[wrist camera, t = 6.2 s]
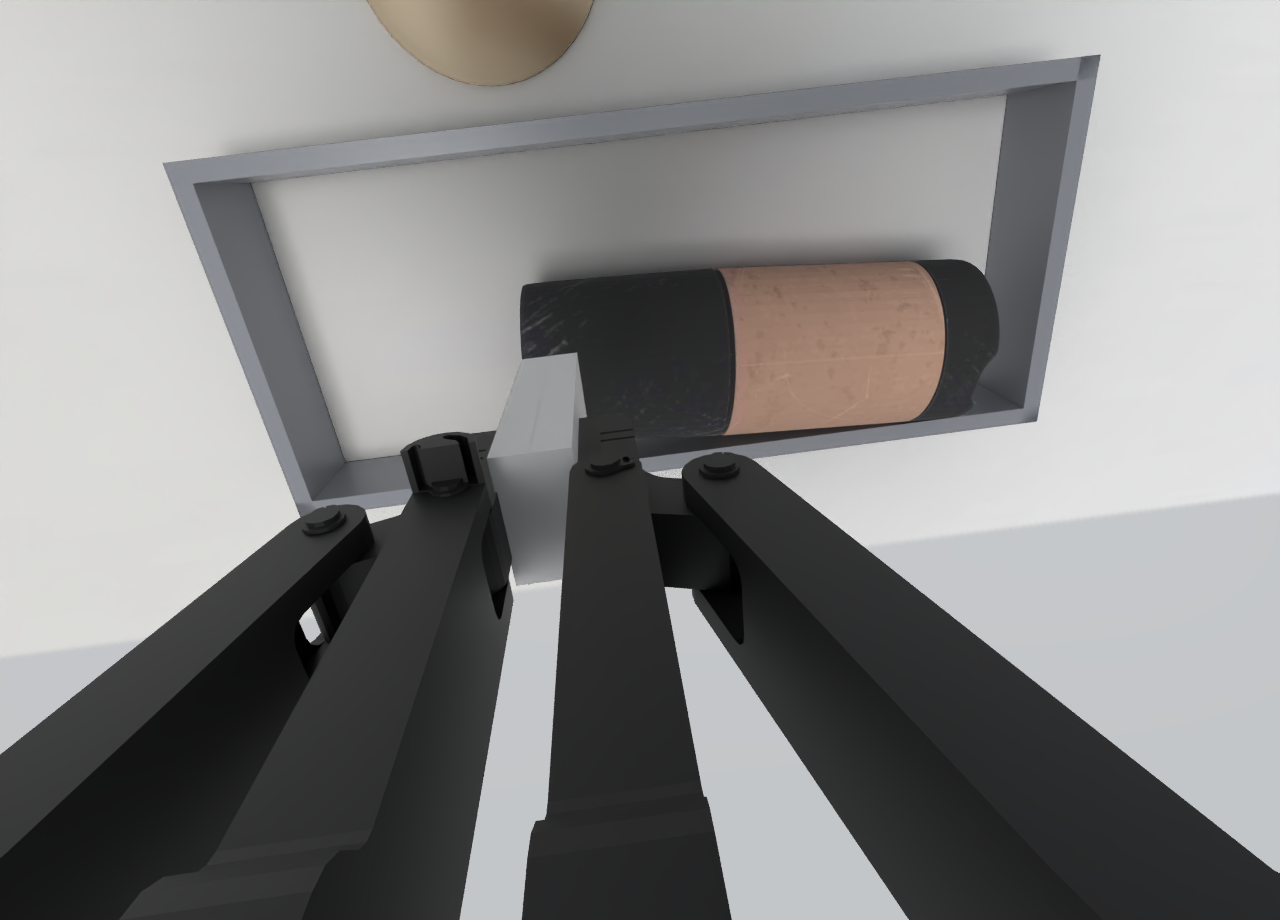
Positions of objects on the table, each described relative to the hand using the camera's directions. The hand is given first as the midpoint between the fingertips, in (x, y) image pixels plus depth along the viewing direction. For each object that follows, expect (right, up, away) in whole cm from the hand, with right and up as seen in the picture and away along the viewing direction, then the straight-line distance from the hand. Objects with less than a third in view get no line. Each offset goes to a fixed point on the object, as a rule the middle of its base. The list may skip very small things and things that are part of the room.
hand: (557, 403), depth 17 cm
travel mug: (-3, +3, +11) cm, 12 cm away
